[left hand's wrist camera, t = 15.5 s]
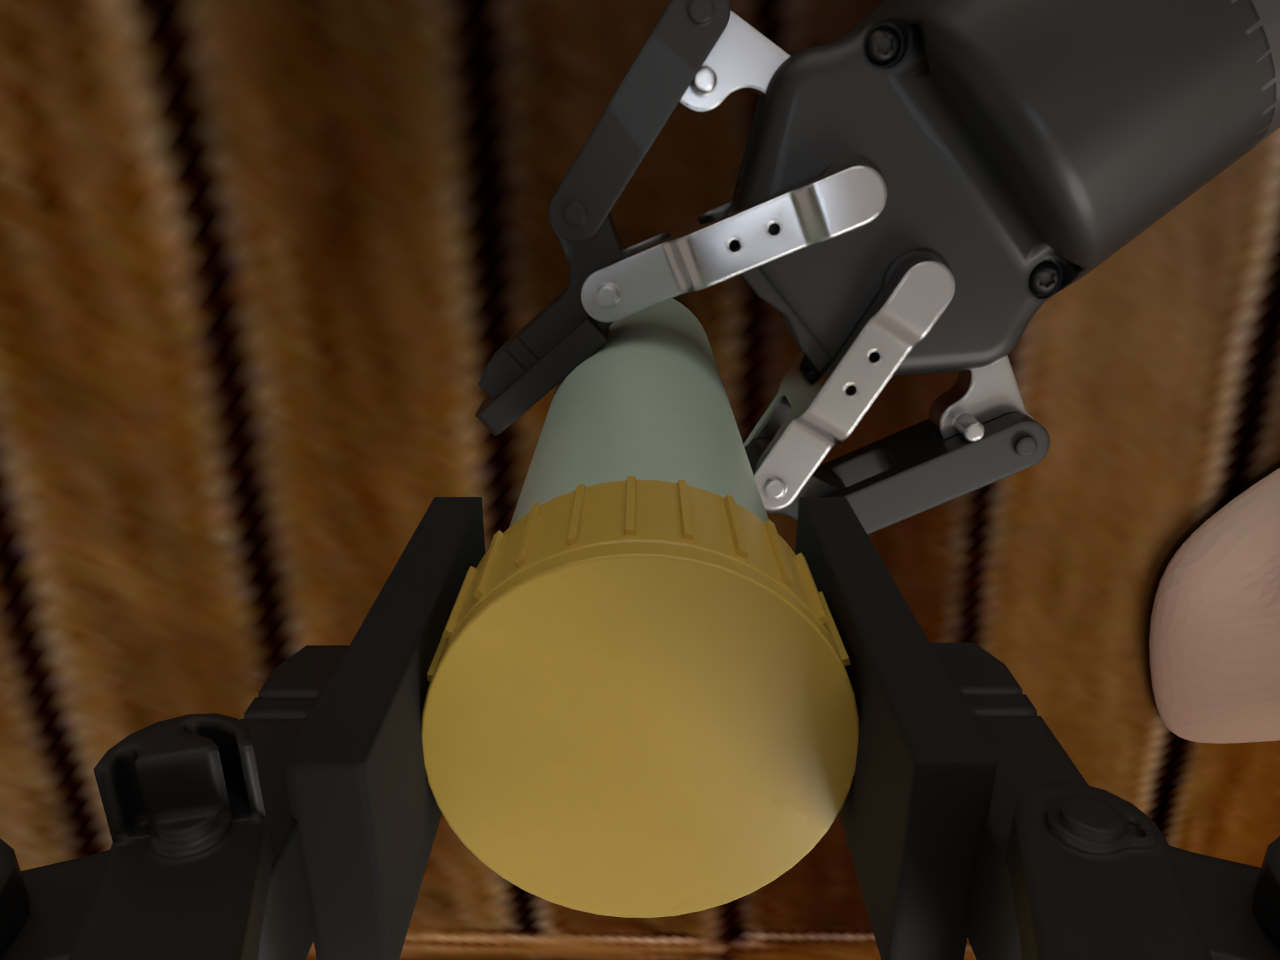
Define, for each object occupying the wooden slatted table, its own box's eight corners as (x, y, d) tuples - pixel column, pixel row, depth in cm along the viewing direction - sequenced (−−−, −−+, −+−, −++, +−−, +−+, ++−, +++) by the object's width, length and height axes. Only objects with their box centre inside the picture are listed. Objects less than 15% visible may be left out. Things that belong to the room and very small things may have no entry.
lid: (799, 809, 14) (828, 935, 11) (450, 786, 13) (415, 910, 11) (857, 488, 12) (906, 567, 10) (453, 458, 12) (410, 531, 9)
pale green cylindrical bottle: (546, 392, 29) (404, 775, 12) (607, 264, 28) (552, 484, 10) (670, 452, 30) (712, 897, 12) (736, 331, 28) (891, 641, 11)
